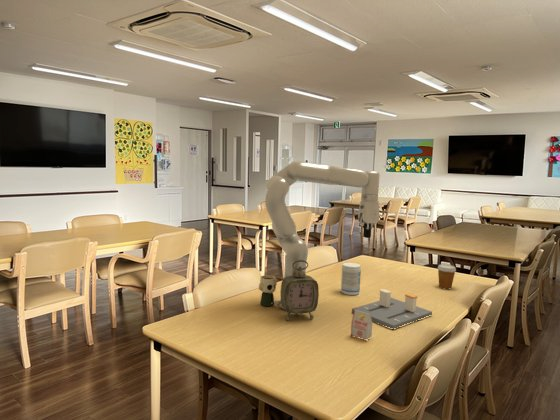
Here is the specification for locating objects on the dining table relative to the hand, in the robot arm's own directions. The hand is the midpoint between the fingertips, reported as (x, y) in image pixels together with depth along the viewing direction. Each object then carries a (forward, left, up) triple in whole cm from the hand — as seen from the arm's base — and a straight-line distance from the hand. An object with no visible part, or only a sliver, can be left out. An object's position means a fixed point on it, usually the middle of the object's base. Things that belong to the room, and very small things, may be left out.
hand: (366, 237), depth 188 cm
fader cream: (+2, -11, -30) cm, 32 cm away
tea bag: (-29, -24, -32) cm, 50 cm away
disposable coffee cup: (+61, -7, -32) cm, 69 cm away
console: (+1, -16, -32) cm, 36 cm away
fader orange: (+7, -21, -30) cm, 37 cm away
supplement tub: (+8, +15, -32) cm, 37 cm away
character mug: (-39, +23, -32) cm, 56 cm away
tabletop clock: (-37, +4, -32) cm, 49 cm away
